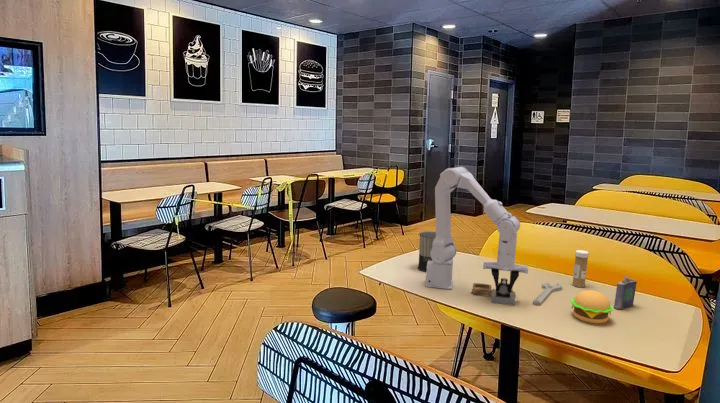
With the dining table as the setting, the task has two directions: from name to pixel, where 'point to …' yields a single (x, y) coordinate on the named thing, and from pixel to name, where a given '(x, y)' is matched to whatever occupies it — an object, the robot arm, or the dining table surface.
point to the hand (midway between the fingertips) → (503, 291)
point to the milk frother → (425, 249)
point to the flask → (625, 293)
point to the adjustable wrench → (546, 293)
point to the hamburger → (591, 307)
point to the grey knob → (503, 288)
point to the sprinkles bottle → (580, 268)
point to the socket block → (503, 298)
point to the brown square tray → (481, 289)
